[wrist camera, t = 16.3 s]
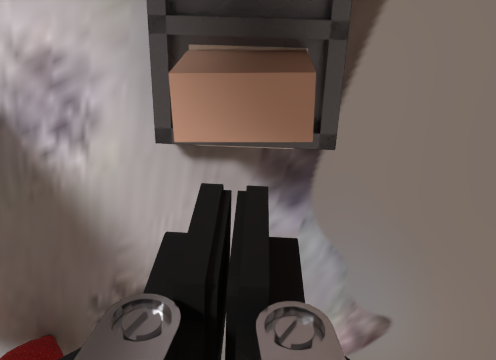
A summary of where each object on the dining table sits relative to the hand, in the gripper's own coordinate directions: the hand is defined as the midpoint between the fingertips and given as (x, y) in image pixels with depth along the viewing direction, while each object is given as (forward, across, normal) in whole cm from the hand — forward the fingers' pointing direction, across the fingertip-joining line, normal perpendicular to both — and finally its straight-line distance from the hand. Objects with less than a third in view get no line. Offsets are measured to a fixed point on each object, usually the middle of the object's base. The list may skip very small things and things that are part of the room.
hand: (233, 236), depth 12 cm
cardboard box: (+18, 0, 0) cm, 18 cm away
